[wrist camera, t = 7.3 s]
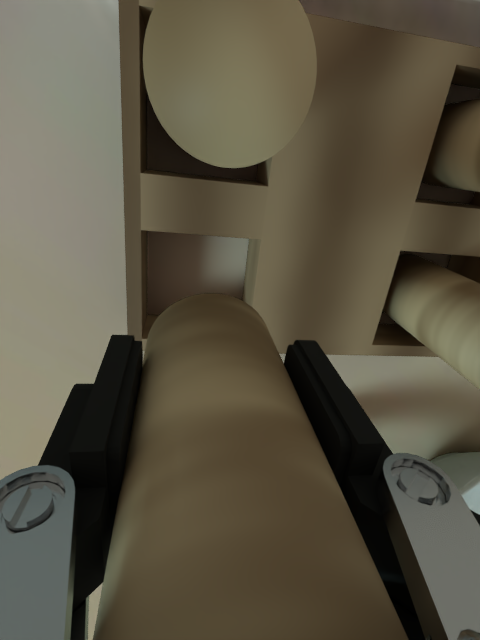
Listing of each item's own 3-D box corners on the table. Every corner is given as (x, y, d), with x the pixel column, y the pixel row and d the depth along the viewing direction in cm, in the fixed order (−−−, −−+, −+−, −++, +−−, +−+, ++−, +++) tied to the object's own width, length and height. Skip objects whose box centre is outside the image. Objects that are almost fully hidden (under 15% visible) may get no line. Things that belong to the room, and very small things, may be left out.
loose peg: (294, 331, 12) (649, 937, 3) (225, 415, 13) (322, 1029, 4) (189, 268, 10) (234, 1120, 1) (123, 369, 11) (-88, 1176, 2)
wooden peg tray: (527, 80, 18) (848, 15, 10) (431, 334, 25) (572, 439, 16) (129, 6, 15) (50, -204, 6) (135, 325, 21) (100, 452, 12)
